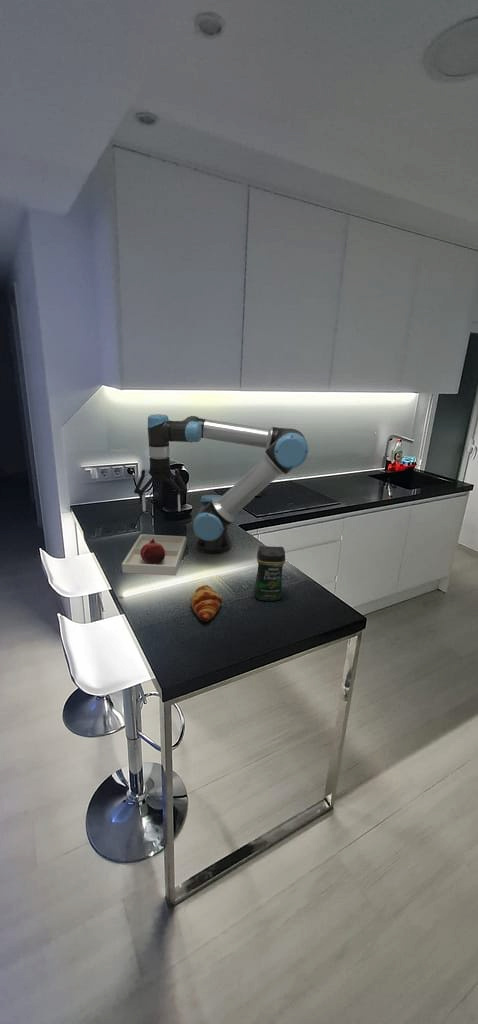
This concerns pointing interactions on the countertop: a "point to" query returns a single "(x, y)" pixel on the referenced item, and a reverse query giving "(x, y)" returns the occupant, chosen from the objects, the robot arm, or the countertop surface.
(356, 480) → the countertop surface
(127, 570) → the fruit holder
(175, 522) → the countertop surface
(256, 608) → the countertop surface
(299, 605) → the countertop surface
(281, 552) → the coffee jar
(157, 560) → the fruit
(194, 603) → the croissant
